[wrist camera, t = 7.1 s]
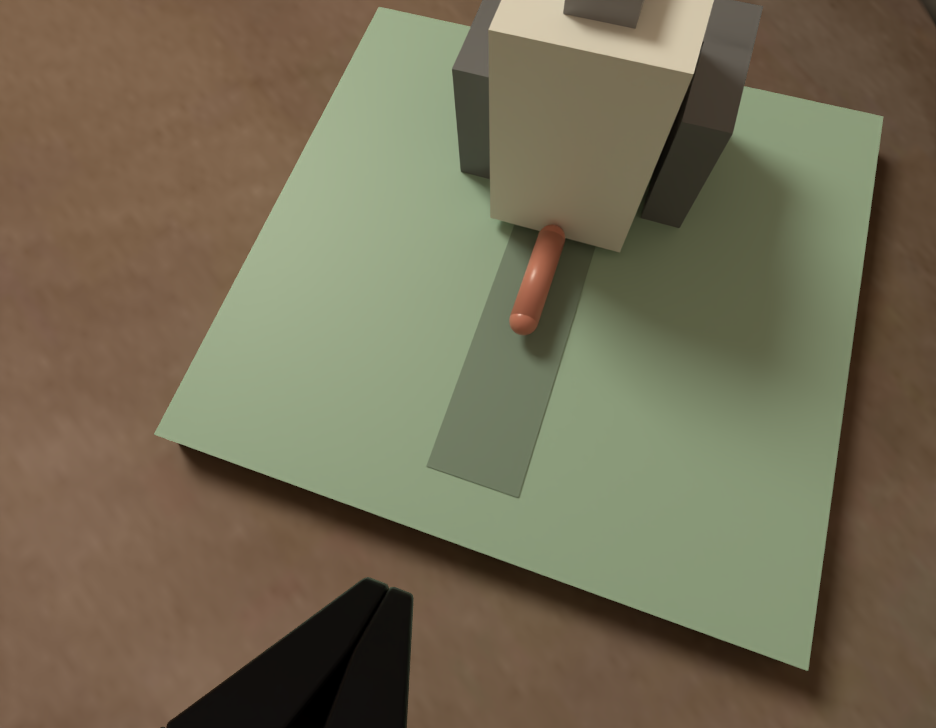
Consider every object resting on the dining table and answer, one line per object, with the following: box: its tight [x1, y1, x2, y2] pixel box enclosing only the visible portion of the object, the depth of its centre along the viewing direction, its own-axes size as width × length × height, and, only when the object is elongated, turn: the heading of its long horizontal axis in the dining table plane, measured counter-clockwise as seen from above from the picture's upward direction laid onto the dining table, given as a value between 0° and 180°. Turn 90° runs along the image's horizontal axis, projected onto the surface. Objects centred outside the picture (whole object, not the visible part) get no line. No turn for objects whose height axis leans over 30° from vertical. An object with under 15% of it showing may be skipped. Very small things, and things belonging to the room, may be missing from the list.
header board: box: [154, 7, 883, 671], centre depth 21 cm, size 21×22×2 cm
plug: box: [488, 0, 714, 335], centre depth 17 cm, size 9×5×9 cm, turn 161°
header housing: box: [452, 0, 763, 228], centre depth 20 cm, size 5×9×5 cm, turn 71°
